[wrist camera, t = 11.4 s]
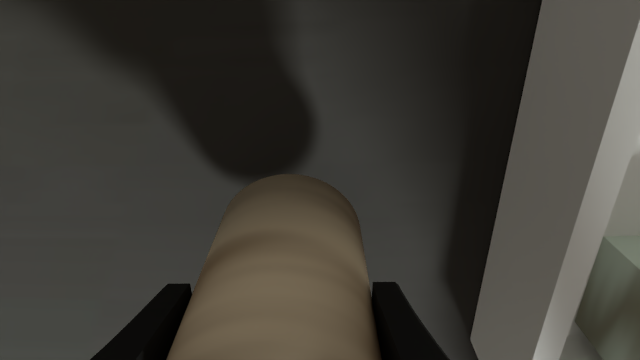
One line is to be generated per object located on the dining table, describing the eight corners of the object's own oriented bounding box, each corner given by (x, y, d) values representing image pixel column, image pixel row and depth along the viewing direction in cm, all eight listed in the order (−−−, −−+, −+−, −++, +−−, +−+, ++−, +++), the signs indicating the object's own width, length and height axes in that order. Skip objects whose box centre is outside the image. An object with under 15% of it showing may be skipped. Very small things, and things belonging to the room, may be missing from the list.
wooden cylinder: (357, 290, 16) (383, 493, 10) (228, 291, 16) (171, 494, 10) (363, 173, 14) (400, 338, 7) (213, 174, 14) (125, 340, 7)
